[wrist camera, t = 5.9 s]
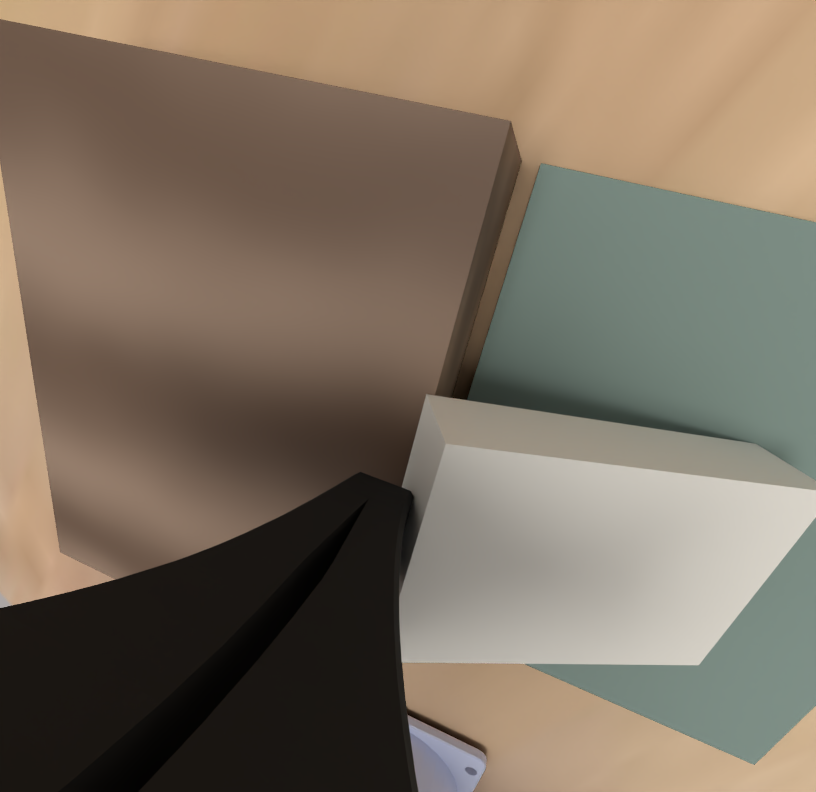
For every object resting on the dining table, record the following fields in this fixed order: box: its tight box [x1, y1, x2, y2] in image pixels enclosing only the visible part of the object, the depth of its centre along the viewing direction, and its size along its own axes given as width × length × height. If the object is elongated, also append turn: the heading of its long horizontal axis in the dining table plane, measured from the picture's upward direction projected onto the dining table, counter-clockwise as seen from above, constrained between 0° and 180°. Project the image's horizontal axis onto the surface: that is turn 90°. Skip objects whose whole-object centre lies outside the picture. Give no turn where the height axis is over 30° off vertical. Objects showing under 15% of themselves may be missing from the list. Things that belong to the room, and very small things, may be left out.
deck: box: [0, 19, 521, 579], centre depth 13 cm, size 16×12×4 cm
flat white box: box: [399, 394, 816, 665], centre depth 10 cm, size 6×9×2 cm, turn 77°
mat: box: [467, 163, 816, 765], centre depth 12 cm, size 16×13×1 cm
